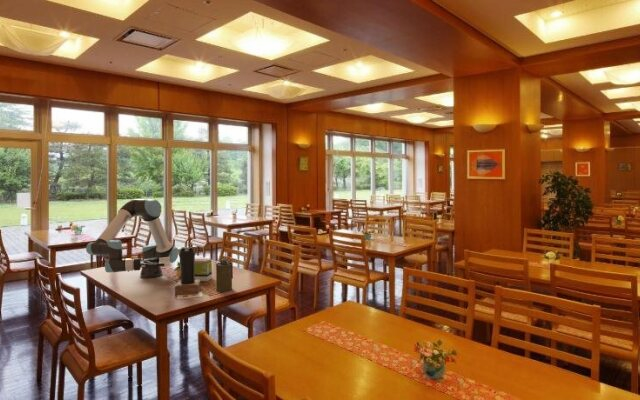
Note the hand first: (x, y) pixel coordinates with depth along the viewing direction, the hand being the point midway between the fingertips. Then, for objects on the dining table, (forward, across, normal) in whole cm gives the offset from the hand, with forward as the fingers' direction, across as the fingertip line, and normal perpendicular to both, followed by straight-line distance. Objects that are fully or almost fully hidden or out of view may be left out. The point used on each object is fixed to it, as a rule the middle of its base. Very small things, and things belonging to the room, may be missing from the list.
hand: (170, 261), depth 253 cm
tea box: (+20, -27, -21) cm, 39 cm away
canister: (+33, +4, -21) cm, 40 cm away
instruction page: (+11, +9, -21) cm, 25 cm away
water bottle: (+10, +1, -15) cm, 18 cm away
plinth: (+10, +1, -21) cm, 23 cm away
